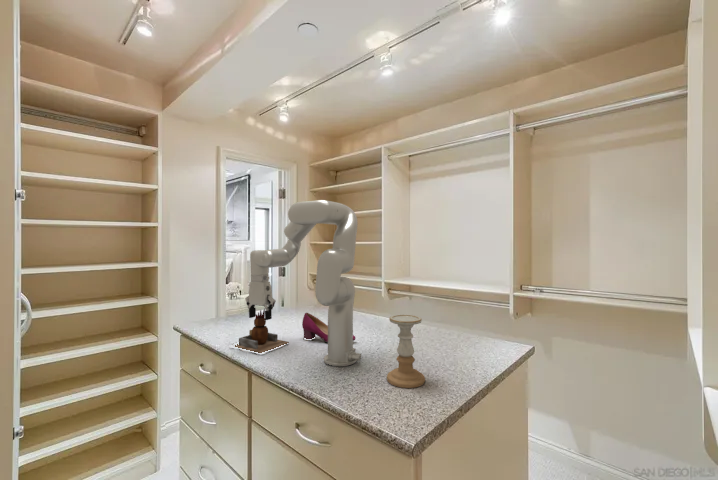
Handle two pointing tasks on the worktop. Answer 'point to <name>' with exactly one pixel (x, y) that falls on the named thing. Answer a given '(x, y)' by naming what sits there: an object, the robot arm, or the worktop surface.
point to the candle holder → (405, 354)
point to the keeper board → (253, 345)
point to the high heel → (315, 327)
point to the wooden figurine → (260, 329)
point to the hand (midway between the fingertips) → (260, 318)
